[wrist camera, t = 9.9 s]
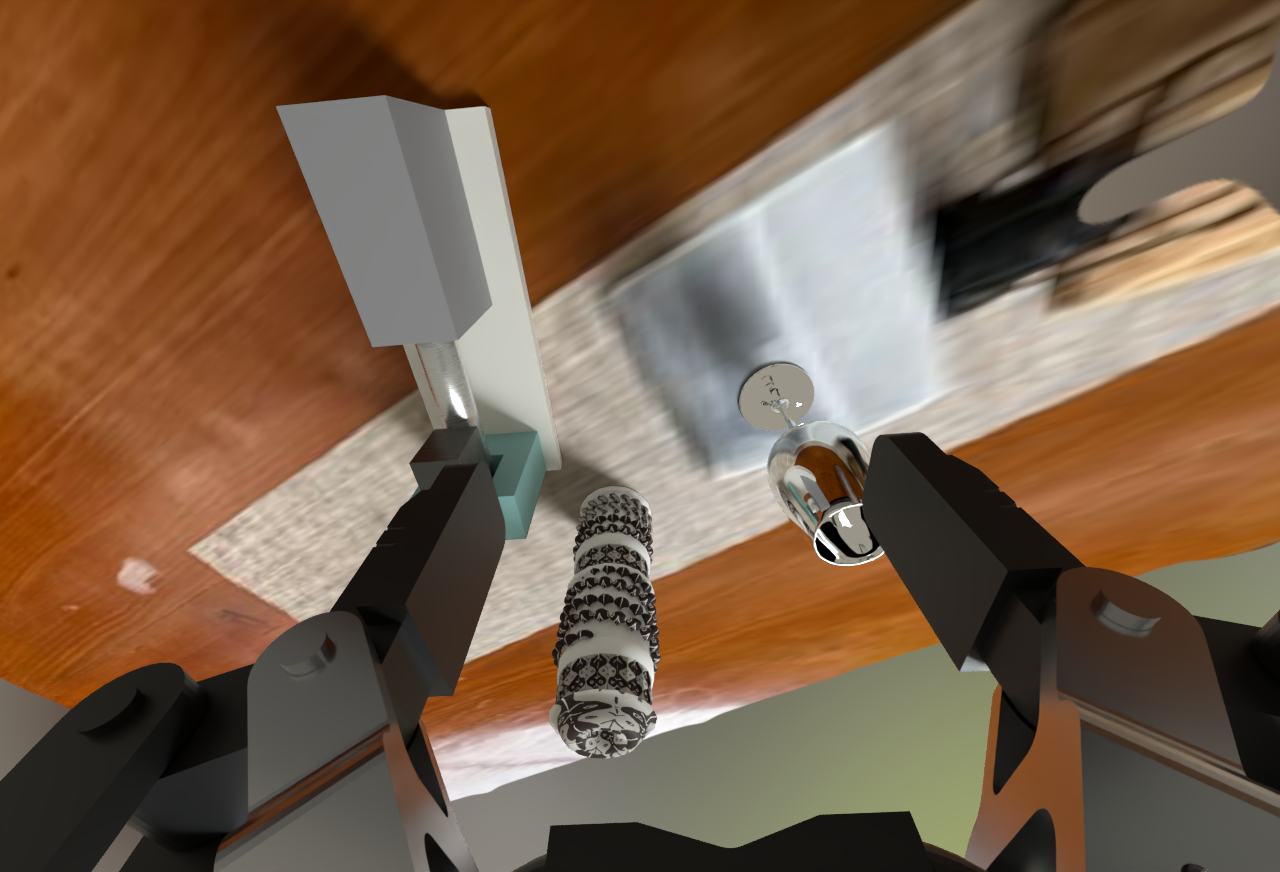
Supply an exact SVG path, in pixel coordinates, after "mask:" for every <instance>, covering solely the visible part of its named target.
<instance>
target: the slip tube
mask: <svg viewBox="0 0 1280 872" xmlns="http://www.w3.org/2000/svg"><path fill="white" fill-rule="evenodd" d="M415 347H416V349H417V352H418V355H419V358H420V361H421V364H422V367H423V369H424V372H425V375H426V378H427V381H428V384H429V387H430V389H431V392H432V395H433V398H434V401H435V404H436V407H437V409H438V412H439V415H440V418H441V421H442V424H443V426H444V429H435V430H434V431H433V432H432V434H431V435H430V436H429V438H428V439H427V440H426V442H425V443H424V444H423V446H422V447H421V448H420V450H419V451H418V452H417V454H416V455H415V456H414V458H413V459H412V460H411V462H410V463H409V464H410V466H411V468H412V471H413V473H414V476H415V478H416V480H417V483H418V485H419V488H420V490H429V489H430V487H431V486H432V484H433V483H434V481H435V479H436V478H437V476H438V475H439V473H440V471H441V470H442V468H443V467H444V466H445V465H447V464H459V463H473V462H484V463H485V464H486V465H487V466H488V468H489V470H490V473H491V477H492V479H493V477H494V475H495V473H496V470H495V467H494V464H493V460H492V457H491V454H490V450H489V447H488V444H487V440H486V437H485V434H484V430H483V427H482V424H481V420H480V417H479V414H478V410H477V407H476V404H475V400H474V397H473V394H472V390H471V387H470V384H469V380H468V377H467V374H466V370H465V367H464V364H463V360H462V357H461V354H460V350H459V347H458V344H457V340H455V341H442V342H430V343H418V344H415Z"/></svg>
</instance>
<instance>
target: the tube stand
mask: <svg viewBox="0 0 1280 872" xmlns="http://www.w3.org/2000/svg"><path fill="white" fill-rule="evenodd" d="M276 108H277V111H278V113H279V116H280V118H281V121H282V123H283V125H284V128H285V130H286V133H287V135H288V138H289V140H290V143H291V145H292V148H293V150H294V153H295V155H296V158H297V160H298V163H299V165H300V168H301V170H302V173H303V175H304V178H305V180H306V183H307V185H308V188H309V190H310V193H311V195H312V198H313V200H314V203H315V205H316V208H317V210H318V213H319V215H320V218H321V220H322V223H323V225H324V228H325V230H326V233H327V235H328V238H329V240H330V243H331V245H332V248H333V250H334V252H335V255H336V257H337V260H338V262H339V265H340V267H341V270H342V272H343V275H344V277H345V280H346V282H347V285H348V287H349V290H350V292H351V295H352V297H353V300H354V302H355V305H356V307H357V310H358V312H359V315H360V317H361V320H362V322H363V325H364V327H365V330H366V332H367V335H368V337H369V340H370V342H371V345H372V347H381V346H393V345H403V347H404V350H405V352H406V355H407V358H408V360H409V363H410V366H411V369H412V371H413V374H414V377H415V380H416V382H417V385H418V388H419V391H420V393H421V396H422V399H423V402H424V404H425V407H426V410H427V413H428V415H429V418H430V421H431V424H432V426H433V429H434V430H435V429H444V426H443V424H442V421H441V418H440V415H439V412H438V409H437V407H436V404H435V401H434V398H433V395H432V392H431V389H430V387H429V384H428V381H427V378H426V375H425V372H424V369H423V367H422V364H421V361H420V358H419V355H418V352H417V349H416V347H415V344H418V343H430V342H442V341H455V340H457V344H458V347H459V350H460V354H461V357H462V360H463V364H464V367H465V370H466V374H467V377H468V380H469V384H470V387H471V390H472V394H473V397H474V400H475V404H476V407H477V410H478V414H479V417H480V420H481V424H482V427H483V430H484V434H485V435H490V434H504V433H518V432H532V431H538V435H539V439H540V444H541V448H542V452H543V457H544V461H545V466H546V471H551V470H561V466H562V457H561V453H560V448H559V443H558V438H557V433H556V428H555V423H554V418H553V413H552V408H551V404H550V399H549V394H548V389H547V384H546V379H545V374H544V369H543V364H542V360H541V355H540V350H539V345H538V340H537V335H536V330H535V325H534V320H533V315H532V311H531V306H530V301H529V296H528V291H527V286H526V281H525V276H524V271H523V267H522V262H521V257H520V252H519V247H518V242H517V237H516V232H515V227H514V222H513V218H512V213H511V208H510V203H509V198H508V193H507V188H506V183H505V178H504V174H503V169H502V164H501V159H500V154H499V149H498V144H497V139H496V134H495V129H494V125H493V120H492V115H491V110H490V108H488V107H485V106H481V107H471V108H461V109H451V110H442V109H438V108H434V107H430V106H426V105H422V104H418V103H414V102H410V101H406V100H402V99H398V98H394V97H390V96H386V95H382V96H372V97H362V98H353V99H343V100H333V101H323V102H313V103H303V104H294V105H284V106H276Z"/></svg>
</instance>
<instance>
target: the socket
mask: <svg viewBox="0 0 1280 872" xmlns="http://www.w3.org/2000/svg"><path fill="white" fill-rule="evenodd" d="M485 437H486V440H487V444H488V447H489V450H490V454H491V457H492V460H493V464H494V467H495V470H496V473H495V475H494V477H493V479H492V480H493V483H494V486H495V490H496V493H497V496H498V499H499V503H500V506H501V509H502V512H503V516H504V519H505V527H506V536H505V540H511V539H526V538H527V534H528V531H529V527H530V524H531V520H532V517H533V513H534V510H535V507H536V503H537V500H538V496H539V493H540V489H541V486H542V483H543V479H544V476H545V472H546V466H545V461H544V457H543V452H542V448H541V444H540V439H539V435H538V431H532V432H518V433H504V434H490V435H485ZM420 491H421V490H420V488H419V486H418V488H417V489H416V491H415V492H414V494H413V495H412V497H414V496H415V495H416V494H417V493H419V492H420ZM412 497H411V498H412ZM411 498H410V499H411Z"/></svg>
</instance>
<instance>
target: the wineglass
mask: <svg viewBox="0 0 1280 872" xmlns="http://www.w3.org/2000/svg"><path fill="white" fill-rule="evenodd" d="M813 400H814V385H813V382H812V380H811V378H810V376H809V375H808V374H807V373H806V372H805V371H804V370H802V369H801V368H799V367H797V366H794V365H791V364H774V365H770V366H767V367H765V368H762V369H761V370H759V371H757V372H756V373H754V374H753V375H752V376H751V377H750V378H749V379H748V380H747V382H746V383H745V384H744V386H743V388H742V390H741V393H740V397H739V406H740V411H741V413H742V416H743V417H744V418H745V420H746V421H747V422H748V423H749V424H750V425H752V426H754V427H756V428H758V429H761V430H767V431H777V430H782V429H785V428H788V427H789V430H788V431H787V432H785V433H784V434H783V435H782V436H781V437H780V438H779V439H778V440H777V442H776V443H775V444H774V446H773V447H772V449H771V451H770V454H769V457H768V464H767V478H768V482H769V485H770V488H771V491H772V493H773V495H774V497H775V499H776V501H777V503H778V504H779V506H780V508H781V509H782V510H783V512H784V513H785V515H786V516H787V517H788V519H789V520H790V521H791V523H792V524H793V525H794V527H795V528H796V529H797V530H798V532H799V533H800V534H801V535H802V537H803V538H804V539H805V540H806V542H807V543H808V544H809V545H810V546H811V547H812V549H813V550H814V551H815V552H816V553H817V555H818V556H819V557H821V558H822V559H823V560H825V561H827V562H829V563H832V564H835V565H843V566H849V565H857V564H862V563H865V562H869V561H871V560H873V559H875V558H877V557H879V556H880V555H882V554H883V553H885V552H884V551H883V549H882V547H881V546H880V544H879V543H878V541H877V539H876V538H875V536H874V535H873V533H872V532H871V530H870V528H869V527H868V525H867V523H866V521H865V518H864V514H863V509H862V494H863V490H864V485H865V480H866V476H867V471H868V467H869V462H870V457H871V452H870V450H869V449H868V447H867V446H866V444H865V443H864V442H863V441H862V440H861V439H860V438H859V437H858V436H857V435H856V434H855V433H854V432H852V431H851V430H849V429H848V428H846V427H843V426H841V425H839V424H836V423H833V422H827V421H812V422H807V423H802V424H799V425H796V423H797V422H798V421H800V420H801V419H802V418H803V417H804V416H805V415H806V414H807V412H808V411H809V409H810V408H811V405H812V403H813Z"/></svg>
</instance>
